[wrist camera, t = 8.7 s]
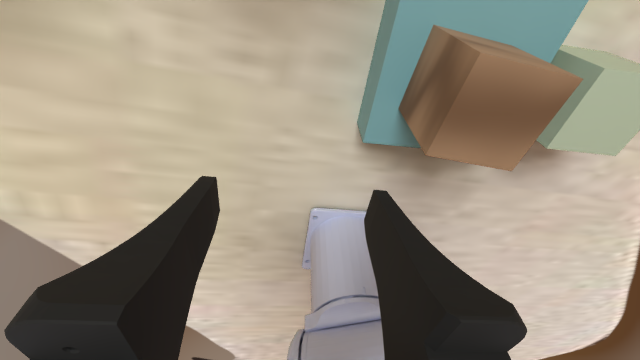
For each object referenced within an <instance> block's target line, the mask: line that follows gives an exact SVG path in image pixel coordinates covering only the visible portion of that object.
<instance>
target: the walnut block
mask: <svg viewBox="0 0 640 360" xmlns="http://www.w3.org/2000/svg"><path fill="white" fill-rule="evenodd" d="M582 80H583V79H582V78H580V77H578V76H576V75H574V74H572V73H570V72H568V71H565V70H563V69H561V68H559V67H557V66H555V65H553V64H550V63H548V62H546V61H544V60H542V59H540V58H538V57H536V56H533V55H531V54H529V53H527V52H525V51H523V50H521V49H519V48H516V47H514V46H512V45H508V44H504V43H501V42H497V41H493V40H489V39H486V38H482V37H478V36H474V35H471V34H467V33H463V32H459V31H456V30H452V29H448V28H444V27H441V26H437V25H433V27H432V29H431V32H430V34H429V36H428V39H427V41H426V44H425V46H424V48H423V51H422V53H421V55H420V58H419V60H418V63H417V65H416V67H415V70H414V72H413V75H412V77H411V79H410V82H409V84H408V86H407V89H406V91H405V94H404V96H403V98H402V101H401V103H400V106H399V108H398V109H399V110H400V112H401V114H402V116H403V117H404V119H405V121H406V123H407V124H408V126H409V128H410V129H411V131H412V133H413V135H414V136H415V138H416V140H417V141H418V143H419V145H420V147H421V148H422V150H423V152H424V154H425V155H426V156H432V157H437V158H443V159H448V160H454V161H459V162H465V163H470V164H475V165H481V166H486V167H492V168H497V169H503V170H508V171H512V170H513V169H514V168H515V166H516V165H517V164H518V162H519V161H520V160H521V159H522V157H523V156H524V155H525V154H526V152H527V151H528V150H529V148H530V147H531V146H532V145H533V143H534V142H535V141H536V139H537V138H538V137H539V136H540V134H541V133H542V132H543V130H544V129H545V128H546V127H547V125H548V124H549V123H550V121H551V120H552V119H553V118H554V116H555V115H556V114H557V113H558V111H559V110H560V109H561V107H562V106H563V105H564V104H565V102H566V101H567V100H568V98H569V97H570V96H571V95H572V93H573V92H574V91H575V89H576V88H577V87H578V86H579V84H580V83H581V82H582Z"/></svg>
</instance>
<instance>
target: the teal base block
mask: <svg viewBox="0 0 640 360" xmlns="http://www.w3.org/2000/svg"><path fill="white" fill-rule="evenodd" d="M587 2H588V0H386V2H385V6H384V10H383V14H382V19H381V23H380V27H379V32H378V36H377V40H376V44H375V49H374V53H373V57H372V61H371V66H370V70H369V74H368V78H367V83H366V87H365V91H364V96H363V100H362V104H361V108H360V113H359V117H358V121H357V124H358V127H359V131H360V134H361V138H362V141H363V143H373V144H383V145H394V146H404V147H414V148H421V147H420V145H419V143H418V141H417V140H416V138H415V136H414V135H413V133H412V131H411V129H410V128H409V126H408V124H407V123H406V121H405V119H404V117H403V116H402V114H401V112H400V110H399V109H398V108H399V106H400V103H401V101H402V98H403V96H404V94H405V91H406V89H407V86H408V84H409V82H410V79H411V77H412V75H413V72H414V70H415V67H416V65H417V63H418V60H419V58H420V55H421V53H422V51H423V48H424V46H425V44H426V41H427V39H428V36H429V34H430V32H431V29H432V27H433V25H437V26H441V27H444V28H448V29H452V30H456V31H459V32H463V33H467V34H471V35H474V36H478V37H482V38H486V39H489V40H493V41H497V42H501V43H504V44H508V45H512V46H514V47H516V48H519V49H521V50H523V51H525V52H527V53H529V54H531V55H533V56H536V57H538V58H540V59H542V60H544V61H546V62H548V63H551V61H552V60H553V58H554V56H555V55H556V53H557V51H558V50H559V48H560V46H561V45H562V43H563V42H564V40H565V38H566V37H567V35H568V33H569V32H570V30H571V28H572V27H573V25H574V23H575V22H576V20H577V18H578V17H579V15H580V13H581V12H582V10H583V9H584V7H585V5H586V4H587Z"/></svg>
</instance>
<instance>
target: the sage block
mask: <svg viewBox="0 0 640 360" xmlns="http://www.w3.org/2000/svg"><path fill="white" fill-rule="evenodd" d="M550 64H553V65H555V66H557V67H559V68H561V69H563V70H565V71H568V72H570V73H572V74H574V75H576V76H578V77H580V78H582V79H583V80H582V82H581V83H580V84H579V86H578V87H577V88H576V89H575V91H574V92H573V93H572V95H571V96H570V97H569V98H568V100H567V101H566V102H565V104H564V105H563V106H562V107H561V109H560V110H559V111H558V113H557V114H556V115H555V116H554V118H553V119H552V120H551V121H550V123H549V124H548V125H547V127H546V128H545V129H544V130H543V132H542V133H541V134H540V136H539V137H538V138H537V139H536V140H537V141H538V142H539V143H540V144H542V145H543V146H544V147H545V148H546V149H555V150H564V151H574V152H583V153H592V154H601V155H611V156H616V155H617V154H618V153H619V152H620V151H621V150H622V149H623V148H624V147H625V146H626V144H627V143H628V142H629V141H630V140H631V139H632V138H633V137H634V136H635V135H636V134H637V132H638V131H639V130H640V64H639V63H636V62H633V61H630V60H628V59H625V58H622V57H619V56H616V55H614V54H611V53H608V52H604V51H598V50H591V49H585V48H578V47H572V46H565V45H561V46H560V48H559V50H558V51H557V53H556V55H555V56H554V58H553V60H552V61H551V63H550Z"/></svg>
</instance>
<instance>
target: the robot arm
mask: <svg viewBox="0 0 640 360" xmlns="http://www.w3.org/2000/svg"><path fill="white" fill-rule="evenodd" d="M219 212H220V207H219V198H218V189H217V179H216V177H208V176H202V177H200V178H199V179H198V180H197V181H196V182H195V183H194V184H193V185H192V186H191V187H190V188H189V189H188V190H187V191H186V192H185V193H184V194H183V195H182V196H181V197H180V198H179V199H178V200H177V201H176V202H175V203H174V204H173V205H172V206H171V207H170V208H168V209H167V210H166V211H165V212H164V213H163V214H161V215H160V216H159V217H158V218H157V219H156V220H154V221H153V222H152V223H151V224H149V225H148V226H147V227H145V228H144V229H143V230H141V231H140V232H139V233H137V234H136V235H134V236H133V237H132V238H130V239H129V240H127V241H125V242H124V243H122V244H121V245H119V246H117V247H116V248H114V249H113V250H111V251H109V252H108V253H106V254H104V255H103V256H101V257H99V258H97V259H95V260H94V261H92V262H90V263H88V264H86V265H84V266H82V267H80V268H78V269H76V270H74V271H73V272H70V273H68V274H66V275H64V276H62V277H60V278H57V279H55V280H53V281H51V282H49V283H47V284H44V285H42V286H40V287H38V288H37V289H36V290H35V291H34V293H33V294H32V295H31V296H30V297H29V299H28V300H27V301H26V302H25V304H24V305H23V306H22V308H21V309H20V310H19V312H18V313H17V314H16V316H15V317H14V318H13V320H12V321H11V322H10V324H9V325H8V326H7V328H6V329H5V336H6V338H7V339H8V341H9V342H10V343H11V344H13V345H14V346H15V347H16V348H17V349H19V350H20V351H21V352H22V353H23V354H25V355H26V356H27V357H28V358H30V360H178V357H179V352H180V347H181V343H182V339H183V334H184V330H185V325H186V321H187V317H188V313H189V309H190V304H191V301H192V297H193V293H194V289H195V285H196V282H197V279H198V275H199V272H200V270H201V267H202V264H203V262H204V259H205V256H206V254H207V251H208V248H209V246H210V243H211V240H212V238H213V235H214V232H215V229H216V225H217V221H218V216H219ZM314 216H316V217H314ZM302 268H304V269H311V314H308V315H305V329H300V330H298V331H297V332H296V334H295V335H294V338H293V340H292V341H291V343H290V346H289V350H288V356H287V360H511V358H510V356H509V354H508V351H509V350H510V349H511V348H513V347H514V346H515V345H517V344H518V343H519V342H520V341H521V340H522V339H523V338H524V337H525V335H526V333H527V328H526V326H525V324H524V323H523V321H522V319H521V317H520V316H519V314H518V312H517V310H516V309H515V307H514V305H513V304H512V303H510V302H508V301H507V300H505V299H503V298H502V297H500V296H499V295H497V294H495V293H494V292H492V291H490V290H489V289H487V288H486V287H484V286H483V285H481V284H480V283H479V282H477V281H476V280H474V279H473V278H471V277H470V276H469V275H467V274H466V273H465V272H463V271H462V270H461V269H460V268H458V267H457V266H456V265H455V264H453V263H452V262H451V261H450V260H449V259H447V258H446V257H445V256H444V255H443V254H442V253H441V252H440V251H438V250H437V249H436V248H435V247H434V246H433V245H432V244H431V243H430V242H429V241H428V240H427V239H426V238H425V237H424V236H423V235H422V234H421V232H420V231H419V230H418V229H417V228H416V227H415V226H414V225H413V224H412V222H411V221H410V220H409V219H408V218H407V216H406V215H405V214H404V213H403V211H402V210H401V209H400V208H399V206H398V205H397V204H396V203H395V201H394V200H393V199H392V197H391V196H390V195H389V194H388V192H387V191H382V190H374V191H373V194H372V197H371V200H370V203H369V206H368V209H367V211H353V210H340V209H326V208H313V209H311V212H310V218H309V224H308V230H307V236H306V242H305V249H304V255H303V261H302Z"/></svg>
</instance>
